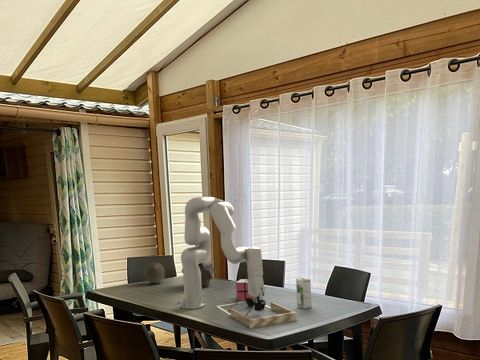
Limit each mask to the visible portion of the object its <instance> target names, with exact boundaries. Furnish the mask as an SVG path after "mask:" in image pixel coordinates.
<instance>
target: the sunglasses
mask: <svg viewBox="0 0 480 360" xmlns="http://www.w3.org/2000/svg"><path fill="white" fill-rule="evenodd" d="M244 301H245V302H246V305H247V307H249V308H250V309H249V311H247V313H246V314H244V315H245V316H247V315H248V314H249V313H250V312H251V311H252V310H255V308H254V301H253V299H252V298H245V299H243V300H238V301H237V302H235V304H233V303H232V304H233V305H230V307H229V309H228V311H227V312H228V313H230V308H233V306H235V305H238V304H237V303H239V304H240V302H244ZM261 305H262V310H264V309H265V305H267V301H266V300H264V299H263V300H262V302H261ZM247 317H248V316H247Z"/></svg>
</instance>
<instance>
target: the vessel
mask: <svg viewBox="0 0 480 360" xmlns="http://www.w3.org/2000/svg"><path fill="white" fill-rule="evenodd" d="M194 247H196V245H194ZM198 266H199V268H200V271H201V288H203V287H207V286H209V285H210V284H211V283H210V282H211V280H212V279H214V274H213V273H214V271H215V267H214V266H213V263H212V261H210V260H209V259H208V260H207V261H206V262H203V263H199V264H198ZM181 272H182V274H183V267H182V269H181Z"/></svg>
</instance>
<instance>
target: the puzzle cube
mask: <svg viewBox="0 0 480 360" xmlns="http://www.w3.org/2000/svg"><path fill="white" fill-rule="evenodd" d="M235 286H236V288H235V289H236V300H237V301H241V300H243V299H245V298H252V299H253V297H252V296H250V295H249V294H248V278H247V279H246V278H245V279H243V278H242V279H239V280H238V281H237V282H236V284H235ZM243 301H244V300H243Z"/></svg>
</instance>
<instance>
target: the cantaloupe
mask: <svg viewBox="0 0 480 360" xmlns="http://www.w3.org/2000/svg"><path fill="white" fill-rule="evenodd" d="M165 272H166V271H165V268H164V266H163V265H162V264H161V263H159V262H155V261H154V262H151V263H150V262H149V263H148V264H147V265H146V266H145V267H144V270H143V275H144V278H145V279H146V280H147V281H148V282H149V283H151V284H152V285H153V284H155V285H156V284H157V285H158V284H160V283H161V282H162V281H164V279H165V274H166V273H165Z"/></svg>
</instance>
